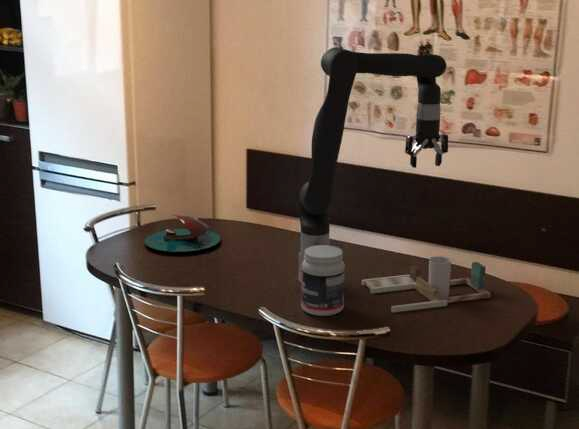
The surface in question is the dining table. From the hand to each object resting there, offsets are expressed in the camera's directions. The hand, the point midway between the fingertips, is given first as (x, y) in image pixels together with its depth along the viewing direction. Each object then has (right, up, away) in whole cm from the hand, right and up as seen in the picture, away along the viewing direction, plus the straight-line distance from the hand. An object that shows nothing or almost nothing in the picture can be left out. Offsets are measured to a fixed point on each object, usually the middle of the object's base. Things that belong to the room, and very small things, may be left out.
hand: (425, 166), depth 263 cm
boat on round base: (-84, -27, +37) cm, 96 cm away
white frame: (+6, -41, -10) cm, 42 cm away
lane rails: (-9, -41, -11) cm, 43 cm away
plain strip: (-11, -39, -4) cm, 40 cm away
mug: (+3, -41, -11) cm, 43 cm away
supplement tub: (-35, -44, -22) cm, 60 cm away
